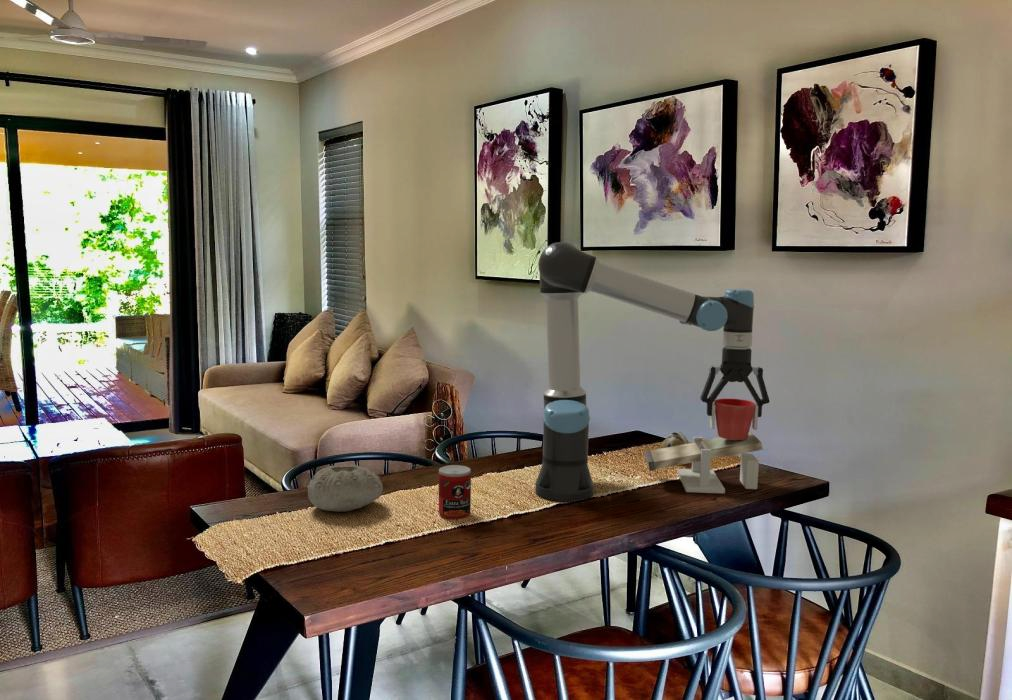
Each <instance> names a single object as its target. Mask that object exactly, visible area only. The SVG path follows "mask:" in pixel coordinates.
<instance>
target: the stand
mask: <svg viewBox="0 0 1012 700" xmlns="http://www.w3.org/2000/svg"><path fill="white" fill-rule="evenodd" d="M703 440H704V438H703V436H692V443H694V442H697V441H703ZM711 461H712V459H711V449H701V461H698V462H692V463H691V468H690V469H688V468H677V470H676V471H677V472H678V473H677V472H676V473H677V475H679V476H678V478H679V480H680V482H681V484H682V486H683V488H684V491H685V493H701V494H702V493H705V494H725V493H726V488H725V487H724V485H723V483H722V482H721V481H720V478H719V477H718V476H717V474H716V473H715V471H714V469H711ZM759 463H760V461H759V460H758V458H757V457H756V456H755V455H754V454H753V453H751V452H748V453H742V454H740V467H739V469H740V470H739V471H740V472H739V481H740V483H741V484H742V486H743V487H744V488H745V489H746V490H747V489H748V490H758V483H759V466H760V465H759Z"/></svg>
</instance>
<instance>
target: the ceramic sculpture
mask: <svg viewBox="0 0 1012 700" xmlns="http://www.w3.org/2000/svg"><path fill="white" fill-rule="evenodd" d="M689 443H690V442H689V440H688V439H687V437H686V436H685V435H684V434H683V432H681V431H679V432H672V433H670V434H669V435H668V437H666V438H665V439H664V440H663V442H662V443H661V445H660V446H661V447H656V448H655V450H656V449H662V448H667V447H673V446H678V445H684V444H689Z"/></svg>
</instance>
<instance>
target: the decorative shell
mask: <svg viewBox="0 0 1012 700" xmlns="http://www.w3.org/2000/svg"><path fill="white" fill-rule="evenodd" d="M380 479H381V477H380V476H379V475H378V474H376V473H375V472H374V471H373V470H372V469H369V468H367V467H365V466H364V467H363V466H360V465H357V464H347V465H341V466H339V465H330V466H326V467H324V468H321V469H320V470H318V471H317V472H316V473H315V474H314V475H313V476H312V478H311V479H310V481H309V483H308V485H307V487H306V489H307V493H308V494H307V496H308V499H309V501H310V503H311V504H312V505H313V506H314V507H316V508H317V509H320V510H322V511H323V510H324V511H327V512H339V513H340V512H343V513H344V512H350V511H353V510H357V509H361V508H362V507H365V506H368V505H369V504H372V503H373V502H374V501H376V500H379V498H380V497H381V496H382V494H383V488H384V485H383V483H382V481H381V480H380Z"/></svg>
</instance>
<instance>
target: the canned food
mask: <svg viewBox="0 0 1012 700" xmlns="http://www.w3.org/2000/svg"><path fill="white" fill-rule="evenodd" d="M471 491H472V470H471V468H470V467H468V466H466V465H460V464H451V465H444V466H442V467H440V468H439V470H438V514H439V516H440V517H441V518H444V519H446V520H447V519H448V520H461V519H464V518H467V517H469V516H470V514H471V510H472V509H471V506H472V505H471V501H472V499H471V496H472V495H471V494H472V493H471Z"/></svg>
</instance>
